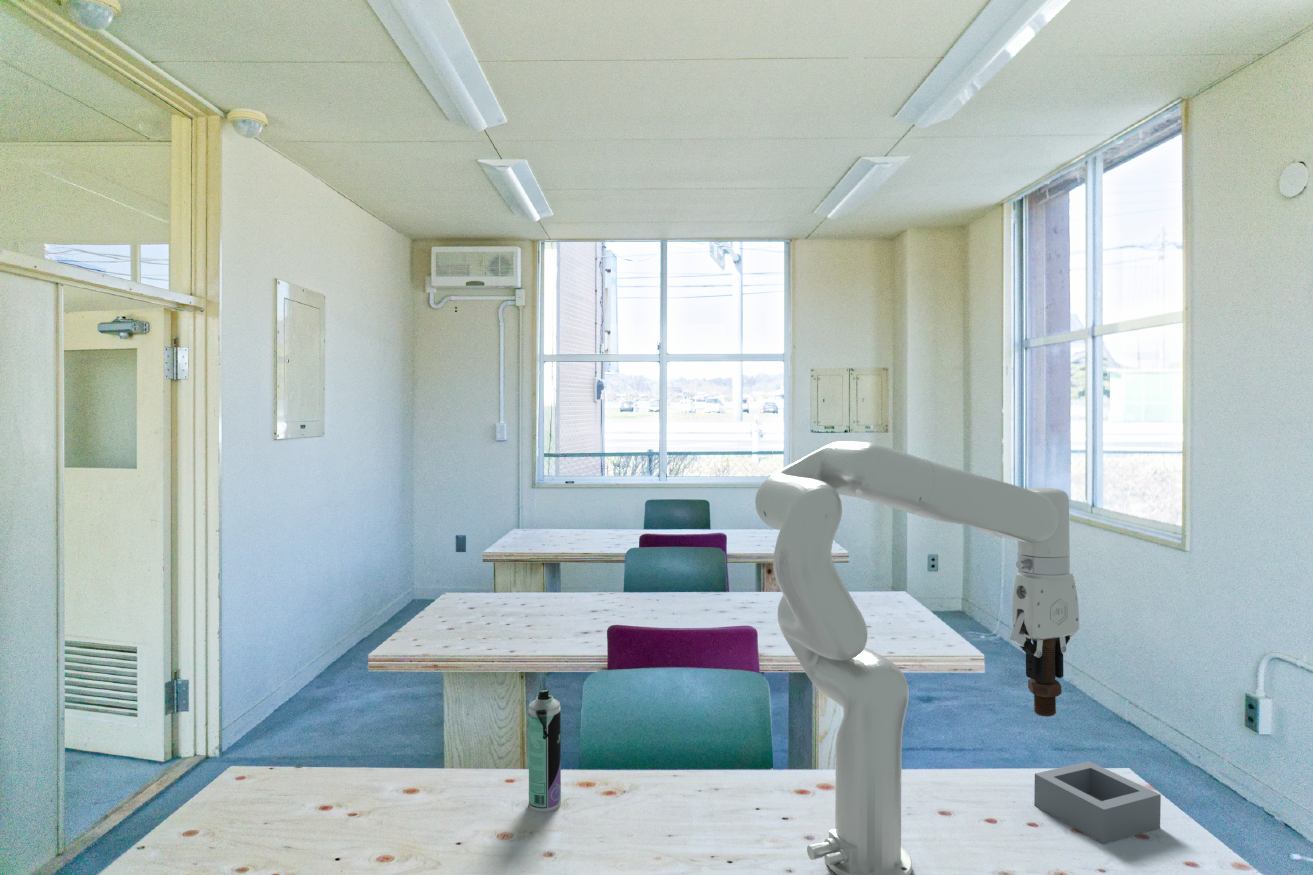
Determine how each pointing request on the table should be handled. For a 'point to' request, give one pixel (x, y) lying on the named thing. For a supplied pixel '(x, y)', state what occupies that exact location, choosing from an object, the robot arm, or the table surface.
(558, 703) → the spray can
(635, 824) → the table surface
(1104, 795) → the socket block
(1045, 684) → the bolt
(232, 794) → the table surface
